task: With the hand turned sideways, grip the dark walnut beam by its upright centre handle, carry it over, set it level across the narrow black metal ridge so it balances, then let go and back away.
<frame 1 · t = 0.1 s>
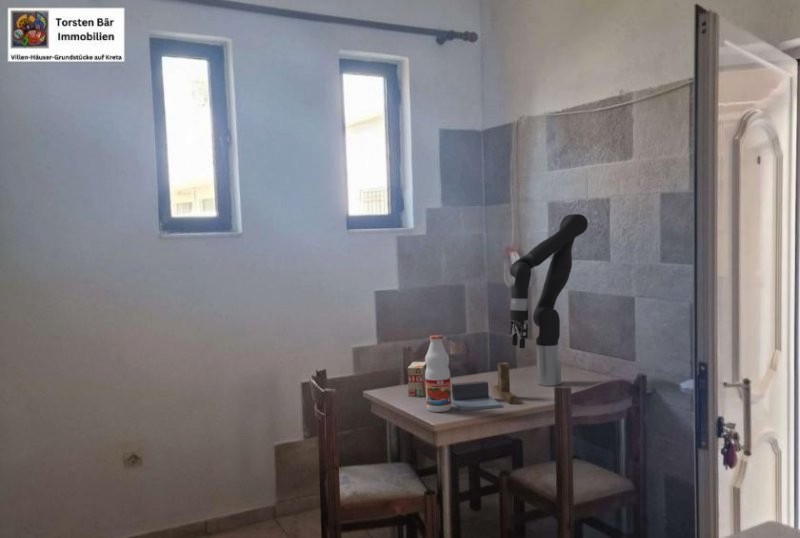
hand: (518, 346, 266), 17 cm above the table, tool pointing down, fingers open, 8 cm apart
fruit juice: (438, 409, 235), on the table
walnut beam: (504, 398, 248), on the table
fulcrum: (470, 400, 246), on the table
cardboard food box: (420, 391, 267), on the table
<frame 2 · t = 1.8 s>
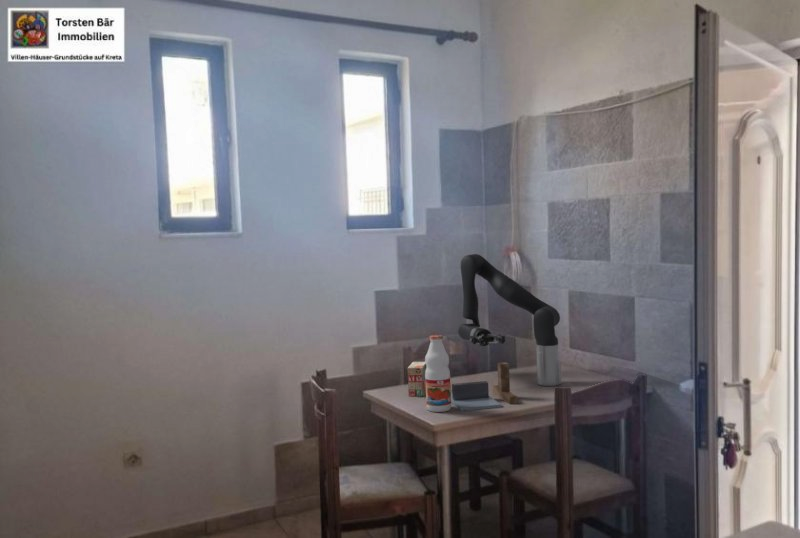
hand: (493, 341, 259), 21 cm above the table, tool horizontal, fingers open, 8 cm apart
nothing on the table moved.
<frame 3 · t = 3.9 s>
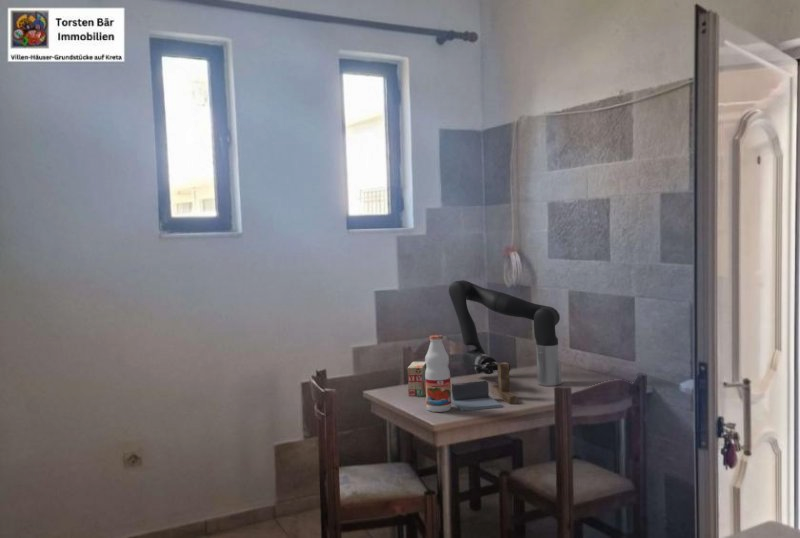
hand: (498, 371, 254), 10 cm above the table, tool horizontal, fingers open, 8 cm apart
nothing on the table moved.
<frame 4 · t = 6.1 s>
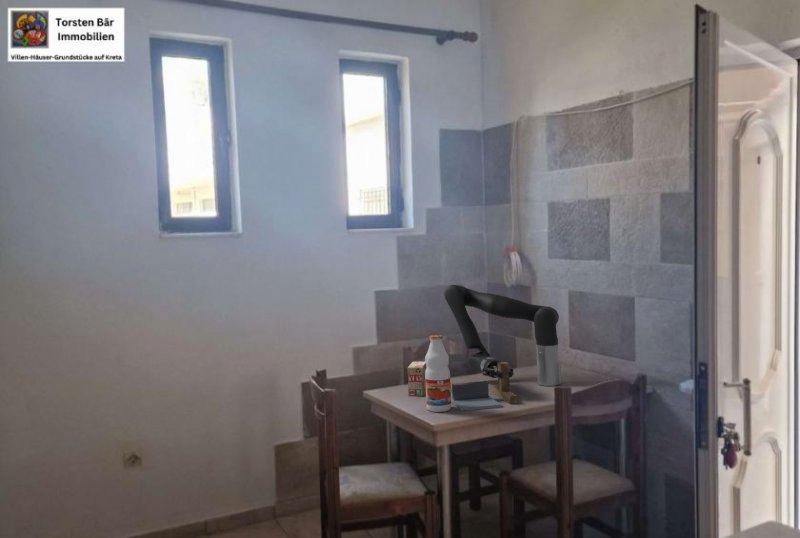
hand: (506, 375, 245), 10 cm above the table, tool horizontal, fingers closed on walnut beam, 3 cm apart
walnut beam: (504, 397, 248), on the table, touching gripper
everything else where it was.
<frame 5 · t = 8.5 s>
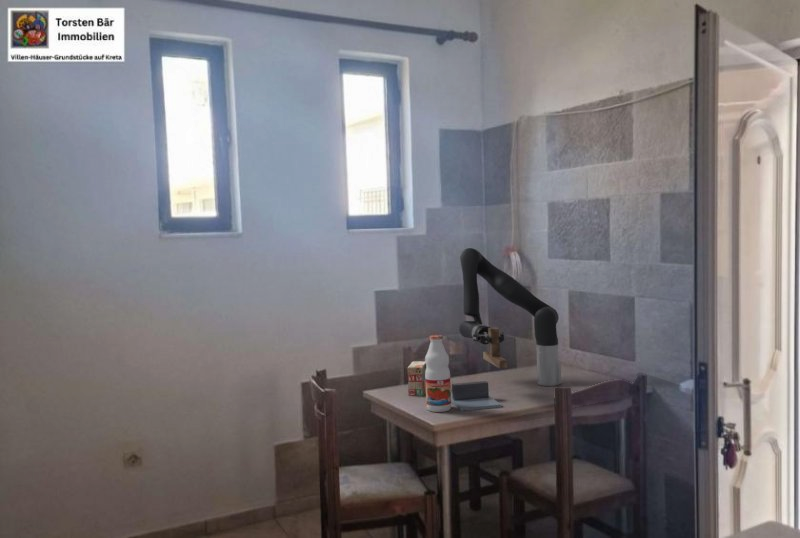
hand: (496, 340, 244), 24 cm above the table, tool horizontal, fingers closed on walnut beam, 3 cm apart
walnut beam: (494, 363, 248), point 14 cm above the table, touching gripper
when the fingers open (17 cm above the table, at t = 11.0 s): walnut beam stays where it is, resting on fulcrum.
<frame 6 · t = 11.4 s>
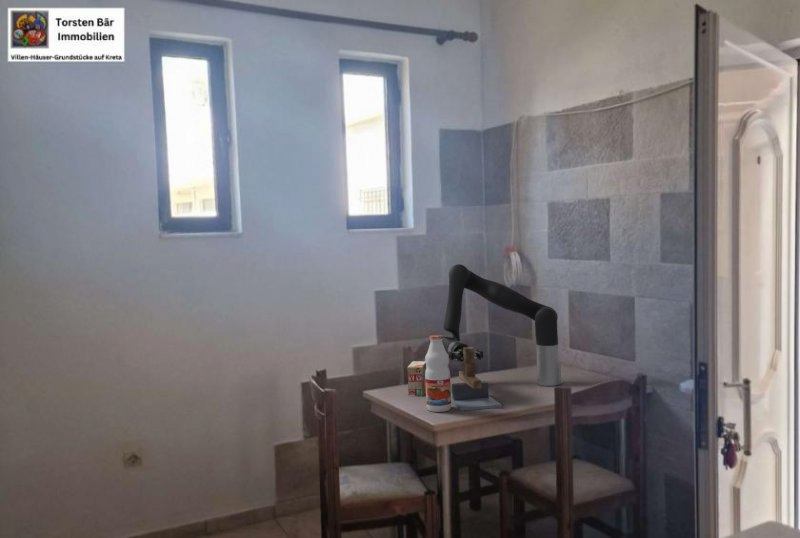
hand: (470, 357, 243), 18 cm above the table, tool horizontal, fingers open, 7 cm apart
walnut beam: (469, 383, 246), point 7 cm above the table, touching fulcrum
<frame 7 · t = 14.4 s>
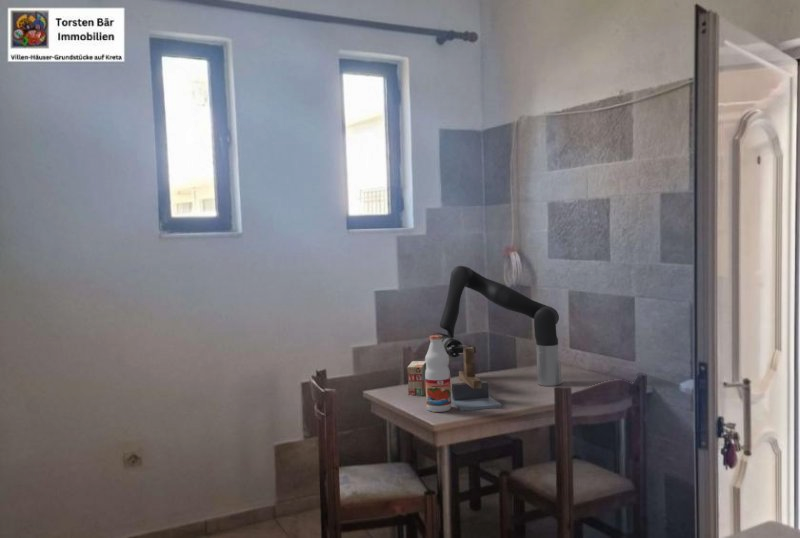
hand: (462, 353, 254), 18 cm above the table, tool horizontal, fingers open, 8 cm apart
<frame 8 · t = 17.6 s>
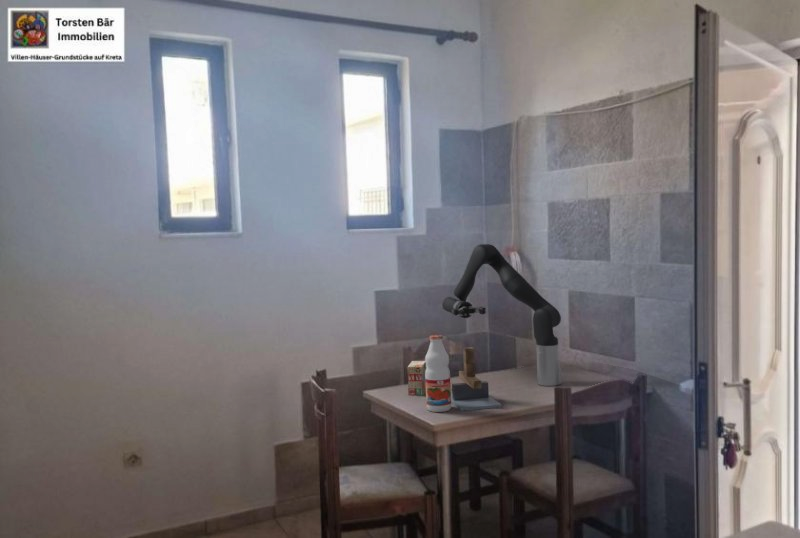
hand: (473, 312, 270), 32 cm above the table, tool horizontal, fingers open, 8 cm apart
at the end: walnut beam 0.2 cm off-centre on the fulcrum, point 7.0 cm above the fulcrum's base; walnut beam tilted 0°; the gripper is holding nothing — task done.
